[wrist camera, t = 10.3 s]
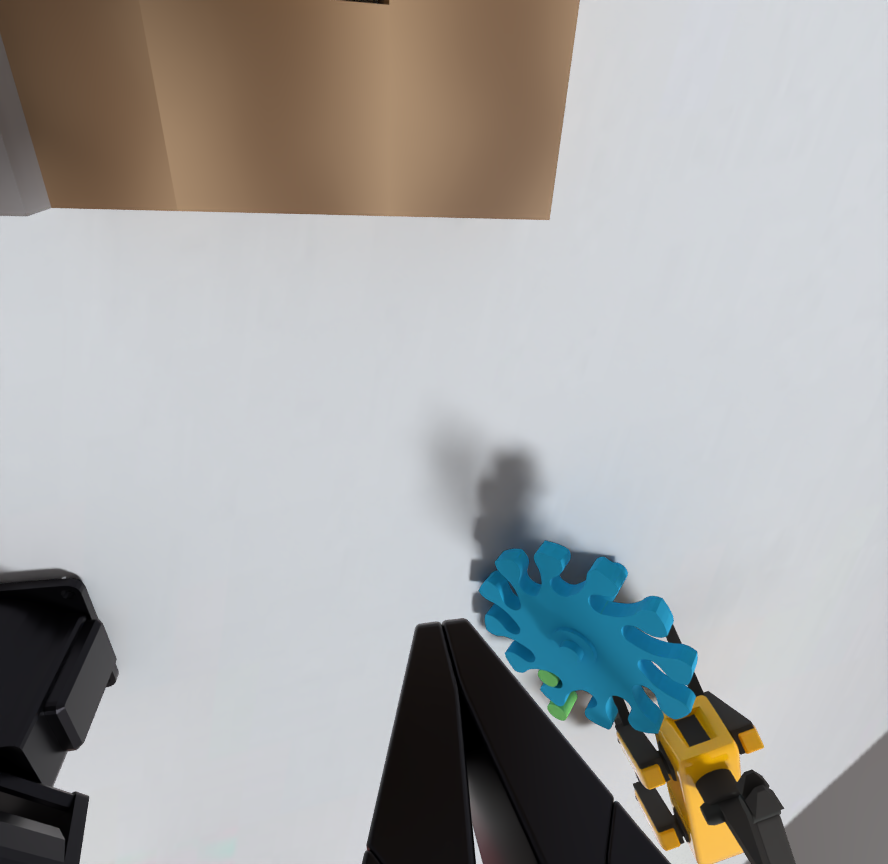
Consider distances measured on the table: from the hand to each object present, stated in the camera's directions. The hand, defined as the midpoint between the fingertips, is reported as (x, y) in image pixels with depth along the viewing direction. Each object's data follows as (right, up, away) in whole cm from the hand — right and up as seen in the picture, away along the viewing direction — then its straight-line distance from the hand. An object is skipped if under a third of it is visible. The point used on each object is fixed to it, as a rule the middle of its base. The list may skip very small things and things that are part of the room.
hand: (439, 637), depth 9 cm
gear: (+5, -4, +19) cm, 20 cm away
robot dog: (+11, -9, +23) cm, 27 cm away
